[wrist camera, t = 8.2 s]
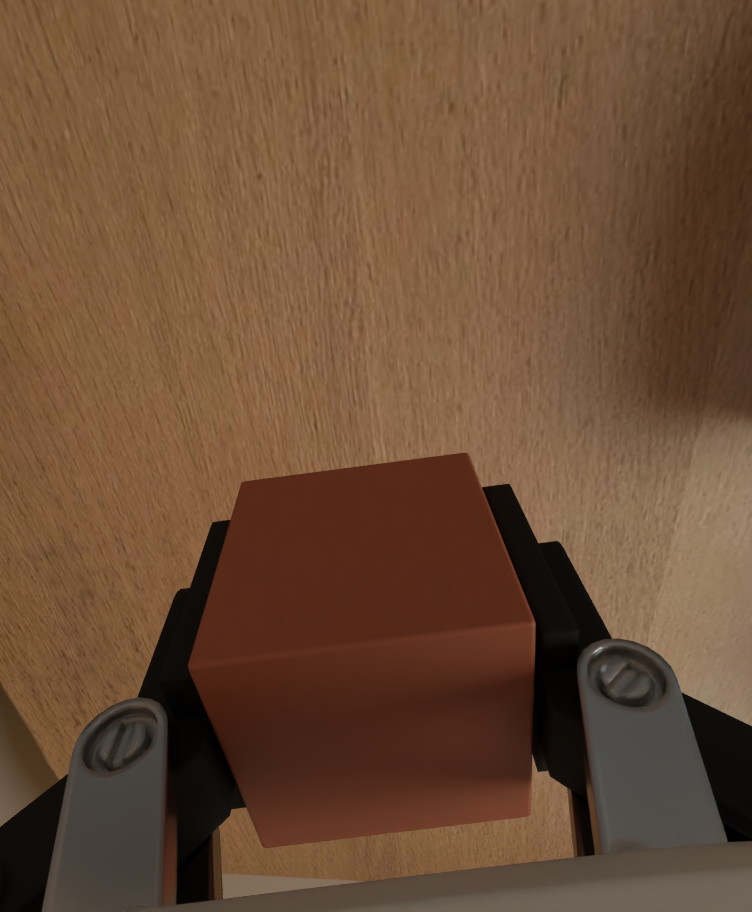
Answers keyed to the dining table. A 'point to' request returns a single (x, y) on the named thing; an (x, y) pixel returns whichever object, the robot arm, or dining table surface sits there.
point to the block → (369, 654)
